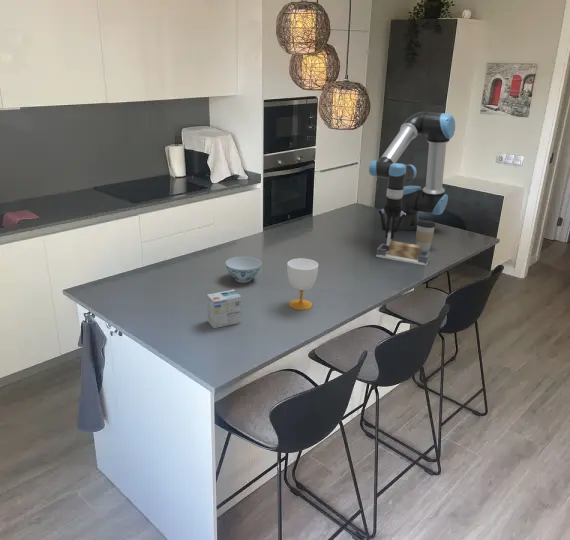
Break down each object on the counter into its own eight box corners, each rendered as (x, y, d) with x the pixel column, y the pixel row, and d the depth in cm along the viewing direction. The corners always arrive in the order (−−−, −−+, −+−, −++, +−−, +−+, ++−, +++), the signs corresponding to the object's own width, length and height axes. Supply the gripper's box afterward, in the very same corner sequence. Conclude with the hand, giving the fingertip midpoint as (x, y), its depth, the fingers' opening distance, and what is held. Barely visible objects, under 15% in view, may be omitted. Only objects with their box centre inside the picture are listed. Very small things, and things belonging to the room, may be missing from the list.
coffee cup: (432, 252, 269) (436, 223, 263) (413, 250, 270) (417, 221, 265) (431, 246, 277) (435, 218, 271) (413, 244, 279) (417, 216, 273)
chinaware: (221, 274, 233) (221, 258, 230) (254, 271, 238) (254, 254, 235) (231, 288, 220) (231, 271, 217) (265, 284, 225) (266, 267, 222)
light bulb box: (234, 315, 198) (234, 288, 194) (241, 323, 193) (241, 295, 188) (206, 320, 193) (206, 293, 189) (213, 329, 188) (213, 301, 184)
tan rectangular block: (388, 254, 261) (389, 242, 258) (390, 252, 264) (392, 240, 262) (417, 260, 255) (418, 248, 253) (419, 257, 258) (420, 245, 256)
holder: (380, 251, 268) (381, 243, 266) (429, 259, 259) (430, 251, 258) (376, 256, 260) (377, 248, 259) (426, 265, 251) (427, 257, 250)
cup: (291, 296, 215) (293, 256, 209) (319, 301, 211) (322, 261, 205) (281, 307, 205) (282, 266, 198) (310, 314, 201) (312, 271, 195)
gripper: (378, 197, 251) (373, 244, 260) (406, 201, 246) (400, 249, 255) (382, 193, 257) (377, 240, 266) (409, 197, 252) (403, 244, 261)
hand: (388, 244), depth 260 cm, fingers closed
